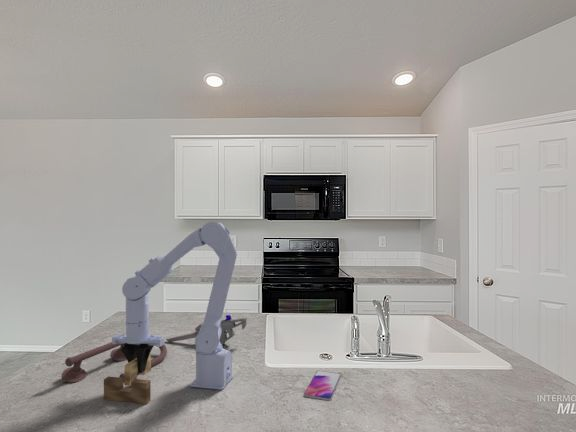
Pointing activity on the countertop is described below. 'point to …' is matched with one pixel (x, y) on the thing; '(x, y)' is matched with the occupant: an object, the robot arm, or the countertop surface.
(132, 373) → the light wooden block
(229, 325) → the toy gun
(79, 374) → the toilet paper hanger
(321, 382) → the smartphone
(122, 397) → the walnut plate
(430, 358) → the countertop surface
